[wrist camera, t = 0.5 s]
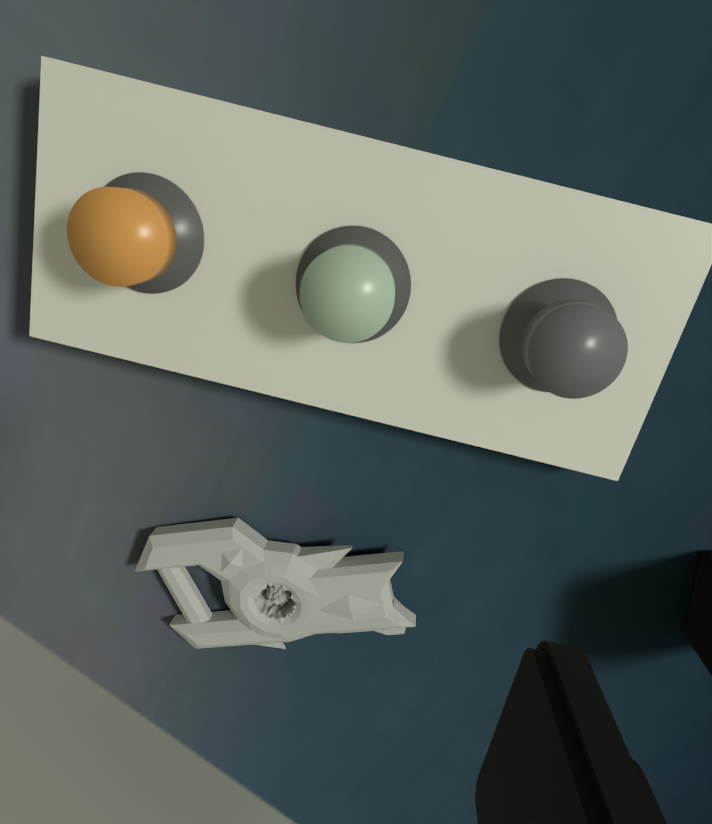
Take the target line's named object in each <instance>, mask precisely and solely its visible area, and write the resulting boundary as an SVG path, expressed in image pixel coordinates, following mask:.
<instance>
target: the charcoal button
mask: <svg viewBox="0 0 712 824" xmlns="http://www.w3.org/2000/svg"><path fill="white" fill-rule="evenodd" d="M521 351H522V357H523V360H524V363H525V365H526V367H527V368H528V370H529V371H530V373H531V374H532V375H533V376H534V378H535V379H536V380H537V381H538V383H539V384H540V385H541V386H542V387H543V388H544V389H545V390H547V391H548V392H550V393H552V394H554V395H556V396H559V397H562V398H568V399H579V398H585V397H589V396H592V395H595V394H597V393H599V392H601V391H602V390H604V389H605V388H607V387H608V386H609V385H610V384H611V383H613V382H614V381H615V379H616V378H617V377H618V376H619V374H620V372H621V371H622V369H623V367H624V365H625V362H626V359H627V353H628V342H627V337H626V333H625V331H624V329H623V327H622V325H621V324H620V322H619V321H618V320H617V319H616V318H615V317H614V316H613V315H612V314H610V313H609V312H607V311H605V310H603V309H601V308H599V307H597V306H595V305H593V304H591V303H589V302H586V301H583V300H577V299H566V300H561V301H557V302H554V303H552V304H549V305H547V306H546V307H544V308H543V309H541V310H540V311H539V312H538V313H536V314H535V316H534V317H533V318H532V319H531V320H530V322H529V323H528V325H527V327H526V329H525V331H524V334H523V337H522V344H521Z"/></svg>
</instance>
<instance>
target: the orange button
mask: <svg viewBox="0 0 712 824" xmlns="http://www.w3.org/2000/svg"><path fill="white" fill-rule="evenodd" d="M67 237H68V243H69V246H70V249H71V252H72V254H73V256H74V258H75V260H76V261H77V263H78V264H79V265H80V267H81V268H82V269H83V270H84V271H85V272H86V273H87V274H88V275H90V276H91V277H92V278H94V279H95V280H97V281H99V282H101V283H103V284H106V285H110V286H115V287H125V286H131V285H135V284H138V283H142V282H145V281H149V280H152V279H154V278H156V277H158V276H160V275H161V274H162V273H163V272H165V270H166V269H167V268H168V267H169V265H170V264H171V262H172V260H173V258H174V255H175V251H176V244H177V238H176V231H175V227H174V223H173V221H172V219H171V217H170V215H169V213H168V212H167V210H166V209H165V208H164V206H163V205H162V204H161V203H160V202H159V201H158V200H157V199H155V198H154V197H153V196H151V195H149V194H148V193H145V192H143V191H140V190H137V189H132V188H119V187H99V188H95V189H92V190H90V191H88V192H86V193H85V194H83V195H82V196H81V197H80V198H79V199H78V200H77V201H76V202H75V204H74V205H73V207H72V209H71V211H70V214H69V217H68V222H67Z"/></svg>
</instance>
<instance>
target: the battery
mask: <svg viewBox="0 0 712 824" xmlns="http://www.w3.org/2000/svg"><path fill="white" fill-rule="evenodd" d="M685 636H686V638H687V639H688V641H689V642H690V644H691V645H692V647H693V648H694V650H695V651H696V653H697V654H698V656H699V657H700V659H701V660H702V662H703V663H704V665H705V666H706V668H707V669H708V671H709V672H710V674H711V675H712V552H704V553H702V554H701V555H700V557H699V562H698V567H697V572H696V577H695V582H694V588H693V593H692V598H691V603H690V609H689V614H688V619H687V625H686V630H685Z"/></svg>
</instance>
